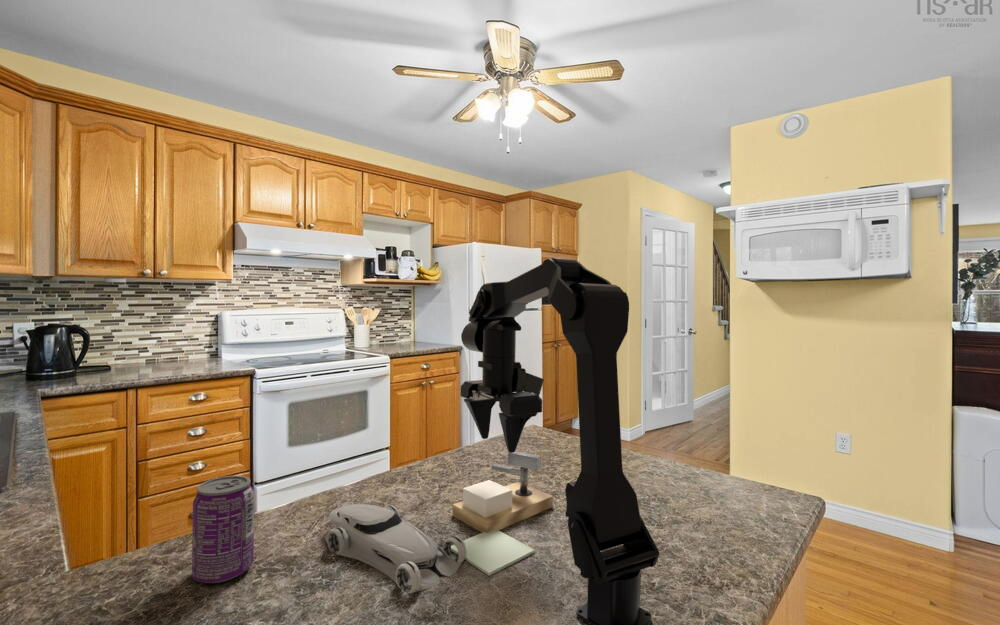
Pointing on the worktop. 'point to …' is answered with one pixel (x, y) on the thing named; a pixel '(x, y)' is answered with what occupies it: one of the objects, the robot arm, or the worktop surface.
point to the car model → (392, 546)
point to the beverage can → (222, 529)
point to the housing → (520, 510)
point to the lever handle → (523, 462)
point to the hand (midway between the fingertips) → (497, 445)
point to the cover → (487, 498)
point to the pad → (493, 551)
